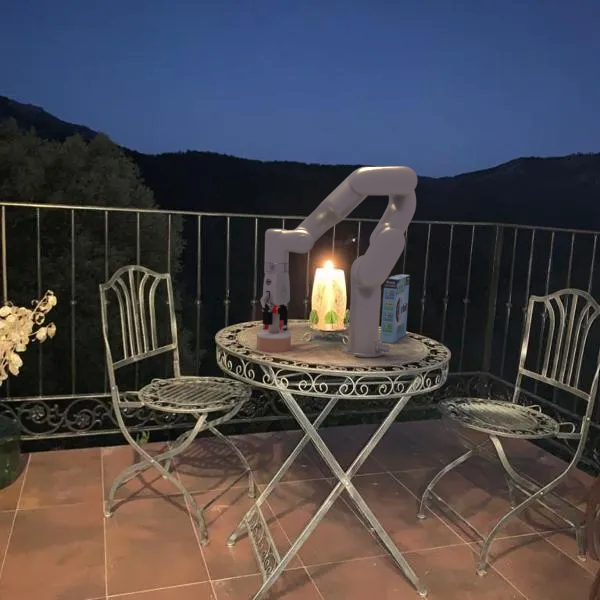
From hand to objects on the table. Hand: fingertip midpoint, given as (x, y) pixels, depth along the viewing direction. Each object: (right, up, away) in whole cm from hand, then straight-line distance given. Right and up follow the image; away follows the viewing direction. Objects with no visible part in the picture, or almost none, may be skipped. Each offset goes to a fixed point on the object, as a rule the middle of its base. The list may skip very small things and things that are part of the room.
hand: (275, 322), depth 200 cm
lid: (0, -4, +1) cm, 4 cm away
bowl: (-1, -9, +1) cm, 9 cm away
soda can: (-2, -7, +19) cm, 21 cm away
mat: (+8, -9, +8) cm, 14 cm away
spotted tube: (-1, -4, +40) cm, 40 cm away
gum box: (+42, -7, +31) cm, 53 cm away
